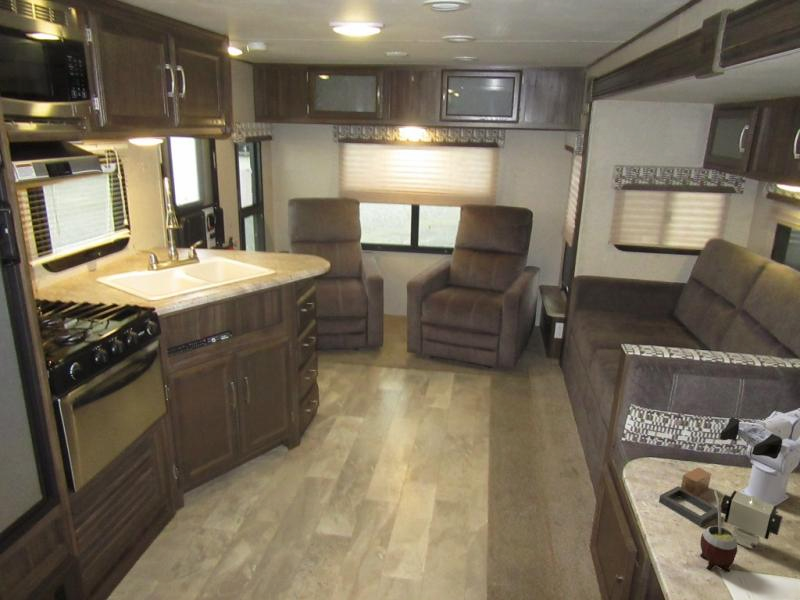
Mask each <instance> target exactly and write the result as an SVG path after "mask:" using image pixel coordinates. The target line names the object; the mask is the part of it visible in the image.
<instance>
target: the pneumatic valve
mask: <svg viewBox="0 0 800 600" xmlns="http://www.w3.org/2000/svg"><path fill="white" fill-rule="evenodd" d="M720 505H721V514H724V515H723V518H724V523H726V524H729V525H732V526H733V529H732V531H731V533H732V534H733V535H734V537H735V538H736V540H737V545H740V546H742V547H745V548H747V549H749V550H750V549H753V547H757V546H758V545H759V542H760V539H761V538H762V539H766V540H769V537H771V536H772V534H773V535H774V536H778V535H779V533H780V530H781V527H782V522H783V518H784V516H782V515H781V514H779V511H778V505H777V506H774V505H772V504H769V503H766V502H764V501H761V499H760V498H758V499H756V498H754V496H751V497H750V496H748V495H745V494H742V493H740V491H737V490H733V492H732V493H731V494H730V495H727V494H724V495H723V497H722V500H721V501H720Z"/></svg>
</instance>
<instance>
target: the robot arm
mask: <svg viewBox="0 0 800 600" xmlns="http://www.w3.org/2000/svg"><path fill="white" fill-rule="evenodd" d="M737 437H739V438H741V439H742V440H743V441H744V442H745V443H747V444H748V446H747V449H746V451H747V453H746V454H747V457H748V458H749V459H750V463H751V464H752V466H751V471H750V475H749V479H748V485H747V486H746V487H745V488H743V489H742V490H740V491H739V492H740V493H742V494H745V495H748V496H750V497H751V496H754V498H756V499H758V498H760V499H761V501H764V502H766V503H769V504H772V505H774V506H777V507H778V505H780V504H781V503H783V502H784V501H786V500H787V499H789V497H790V496H789V495H788V494H786V492H787V489H788V488H787V487H788V484H789V481H790V474H791V473H792V472H793V471H794V470H795V468H797V467H798V465H799V463H800V407H799V408H797V409H794V410H791V411H788V412H785V413H783V412H781V411H777V410H774V411H773V412H772V413H771V414H770V416H767V417H766V418H765V419H764V420H760V419H756V420H755V422H745V421H741V420H739V419H737V418H735V417H730V418H729V419H727V420H725V422H724V425H723V430H722V431H720V436H719V439H720V440H722V441H727V440H728V441H729V440H731V441H734V442H736V440H737Z"/></svg>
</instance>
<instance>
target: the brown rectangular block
mask: <svg viewBox="0 0 800 600" xmlns="http://www.w3.org/2000/svg"><path fill="white" fill-rule="evenodd" d="M711 476H712V473H711V472H709V471H706V470H705V469H703V468H700V467H696V468H695V469H692V470H691V471H688V472H686V473H684V474H683V476H682V479H681V485H680V487H681V488H683V489H684V490H686V491H688V492H690V493H692V494H693V495H695V496H697V497H698V496H699V495H700V494H703V493H704V492H707V491H708V490H709V488H710V487H709V486H710V482H711Z"/></svg>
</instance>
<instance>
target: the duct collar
mask: <svg viewBox="0 0 800 600" xmlns="http://www.w3.org/2000/svg"><path fill="white" fill-rule="evenodd" d="M678 497H679V498H681V499H682V500H684V501H686V502H688V503H690V504H692V505H693V506H695V507H697V508H698V509H699V510H702V511H703V512H704V513H703V514H701V515H700V514H698V513H697V512H694V511H693V510H692V509H690V508H688V507H687V506H685V505H683V504H681V503H679V502H678V501H676V500H674V499H676V498H678ZM658 503H659V504H662V505H663V506H664V507H665V506H666V508H668V509H670V510H672V511H673V512H675V513H677V514H678V515H680V516H682V517H683V518H685V519H686V520H688V521H690V522H692V523H693V524H695V525H697V526H699V527H700V528H702V527H704V526H705V525H707V524H709V523H711V522H712V521H714V520H715V519H718V510H717V506H715V505H713V504H711V503H710V502H708V501H706V500H704V499H703V498H700V497H699V496H698V495H697V496H695V495H693V494H692V493H690V492H688V491H686V490H684V489H683V488H681V486H676V487H673V488H672V489H670V490H668V491H666V492H664V493H662V494H660V495H659V499H658Z"/></svg>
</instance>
